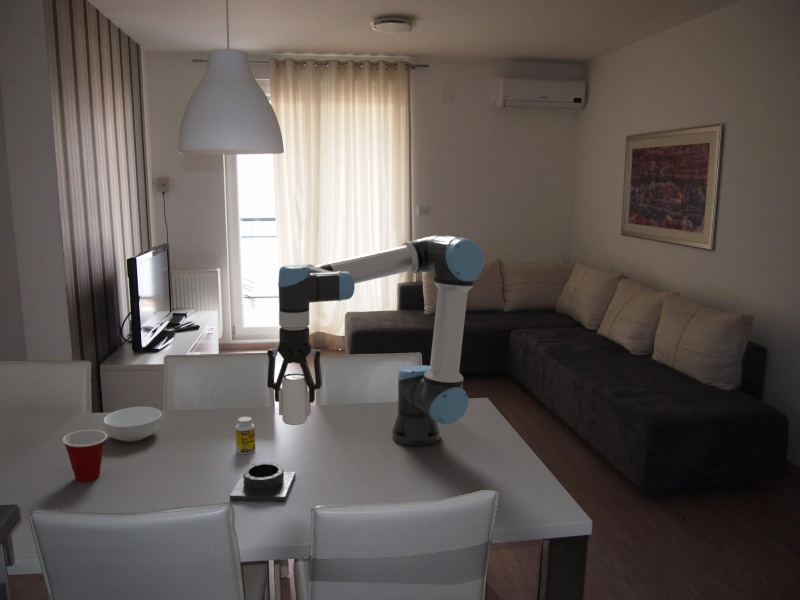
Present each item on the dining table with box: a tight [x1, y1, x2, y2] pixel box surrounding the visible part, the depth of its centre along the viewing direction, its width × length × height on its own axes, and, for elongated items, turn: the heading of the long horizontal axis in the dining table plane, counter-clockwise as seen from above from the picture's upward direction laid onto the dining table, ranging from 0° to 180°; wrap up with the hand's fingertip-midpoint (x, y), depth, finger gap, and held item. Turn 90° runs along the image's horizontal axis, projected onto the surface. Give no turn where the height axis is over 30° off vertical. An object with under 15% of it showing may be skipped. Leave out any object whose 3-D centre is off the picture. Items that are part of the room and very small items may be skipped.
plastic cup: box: [62, 429, 108, 483], centre depth 170 cm, size 11×11×12 cm
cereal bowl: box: [103, 406, 163, 443], centre depth 198 cm, size 17×17×7 cm
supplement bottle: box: [235, 416, 256, 455], centre depth 188 cm, size 6×6×10 cm
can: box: [281, 372, 309, 426], centre depth 163 cm, size 6×6×12 cm
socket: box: [229, 461, 297, 503], centre depth 166 cm, size 14×14×5 cm
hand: (295, 413), depth 163 cm, fingers closed on can, 6 cm apart
